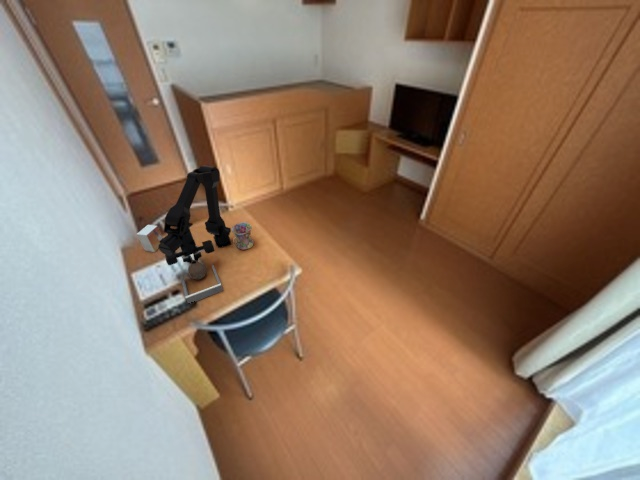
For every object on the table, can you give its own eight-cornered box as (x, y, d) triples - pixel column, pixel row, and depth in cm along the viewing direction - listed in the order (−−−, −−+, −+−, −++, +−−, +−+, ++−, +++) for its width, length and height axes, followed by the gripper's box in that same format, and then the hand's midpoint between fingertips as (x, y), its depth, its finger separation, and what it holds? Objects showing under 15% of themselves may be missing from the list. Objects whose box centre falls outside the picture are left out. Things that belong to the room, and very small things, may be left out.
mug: (242, 237, 138) (239, 220, 132) (258, 241, 136) (255, 224, 129) (228, 252, 129) (223, 234, 123) (245, 256, 127) (241, 239, 120)
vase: (211, 272, 119) (206, 258, 113) (201, 283, 114) (195, 270, 108) (197, 268, 120) (192, 254, 114) (187, 279, 115) (181, 265, 109)
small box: (155, 252, 129) (146, 235, 122) (145, 251, 130) (135, 234, 123) (165, 242, 135) (157, 225, 128) (156, 240, 136) (147, 224, 129)
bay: (215, 270, 120) (213, 264, 117) (223, 290, 111) (221, 284, 108) (183, 281, 114) (180, 275, 112) (188, 304, 105) (185, 298, 103)
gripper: (205, 222, 117) (213, 248, 127) (158, 234, 110) (170, 261, 120) (210, 236, 110) (218, 263, 120) (160, 250, 103) (174, 277, 113)
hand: (195, 265), depth 119 cm, fingers closed, pressing on vase
